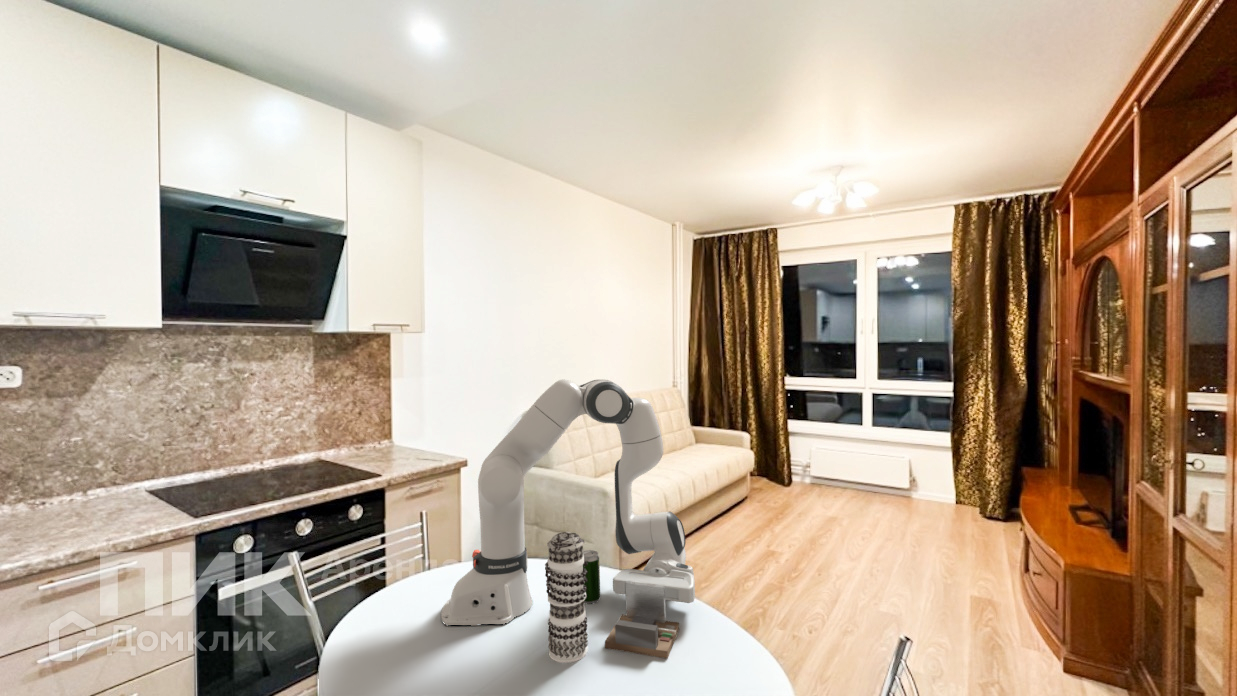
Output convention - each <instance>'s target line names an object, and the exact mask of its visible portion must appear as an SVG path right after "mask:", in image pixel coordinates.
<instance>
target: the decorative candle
mask: <svg viewBox="0 0 1237 696" xmlns="http://www.w3.org/2000/svg"><path fill="white" fill-rule="evenodd" d="M546 544H547V547H548V557H547V562H546V563H544V566H545V568H544V569H545V577H546V580H545V582H546V584H545V585H546V593H547V601H548V602H549V607H550V608H549V612H548V613H549V618H548V620H547V625H548V638H547V640H548V645H547V646H548V647H547V648H548V650H549V652H548V653H549V654H548V655H549V657H550V658H551V659H552V660H553V661H554V662H555V661H556V662H557V663H563V664H568V663H575V662H577V661H580V660H581V659H583V658H584V657H586V656H587V653H588V651H589V649H588V642H589V641H588V632H587V631H588V617H587V616H586V613H587V612H586V607H585V606H586V605H585V603H584V600H585V598H586V592H585V591H587V587H586V586H585V585H584V583H585V582H587V577H585V575H586V574H587V570H586V569H584V568H583V564H584V567H585V566H586V565H587V561H586V560H585V559H584V554H583V551H584V547H583V546H584V544H585V540H584V539H583V538H581V537H580V535H579V534H577V533H576V532H572V531H570V532H569V531H564V532H560V533H556V534H555V535H553V536H552V537H551V539H550V540H549V541H548V542H547V543H546ZM583 579H584V580H583Z"/></svg>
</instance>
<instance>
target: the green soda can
mask: <svg viewBox="0 0 1237 696" xmlns="http://www.w3.org/2000/svg"><path fill="white" fill-rule="evenodd" d="M583 554H584V559H585V560H586V561H587V565H586V566H585V567H584V564H583V568H584V569H586V570H587V574H586V575H585V577H587V582H585V583H584V585H585V586H586V587H587V591H585V592H586V598H585V600H584V603H587V604H586V605H592V604H591V603H594V604H596V603H598V602H599V601H600V599H601V576H600V575H601V574H600V573H601V572H600V555H599V552H598V551H596V550H593V549H589V550H588V549H587V550H583ZM583 580H584V579H583ZM597 601H598V602H597Z"/></svg>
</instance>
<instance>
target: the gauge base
mask: <svg viewBox="0 0 1237 696" xmlns="http://www.w3.org/2000/svg"><path fill="white" fill-rule="evenodd" d="M632 620H633V619H632V618H627V614H621V615H620V617H619V619H618V620H617V621H616V623H615V624H614V626H613V628H612V630H611V631H610V632H609V634H608V636H607V637H606V639H605V641H604V648H605V649H608V650H614V651H619V652H620V651H621V652H626V653H631V654H638V655H643V656H651V657H656V658H661V659H666V660H667V659H669V656H670V653H671V651H672V649H673V646H674V643H675V640H676V639H677V637H678V634H679V632H680V631H679V630H680V622H678V621H671V620H666V621H665V623H660V622H656V625H649V624H642V623H635V622H631V621H632ZM658 628H664V629H671V630H676V634H669V633H663V632H658Z"/></svg>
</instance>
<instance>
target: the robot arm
mask: <svg viewBox="0 0 1237 696" xmlns="http://www.w3.org/2000/svg"><path fill="white" fill-rule="evenodd" d="M582 415H583V416H584V415H587V416H588V417H589V418H590V419H592V420H595V421H597V422H599V423H601V424H602V423H603V424H614V425H616V427H617V430H618V431H619V435H620V441H621V445H622V452H621V456H620V459H618V460H617V461H616V463H615V467H614V498H615V501H614V503H615V541H616V544H617V546H618V547H619V549H621V550H622V551H623V552H624V553H626V554H628V555H633V554H638V553H641V552H652V551H654V552H653V554H652V556H651V557H650V558H649V560H648V562H647V563H646V565H645V566H644V567H643V570H641V569H634V568H625V569H622V570H620V571H619V572H618V573H616V575H615V576H614V577H613V578H612V590H613V592H614V594H617V595H625V596H626V582H627V581H633V582H641V583H649V584H658V585H665V601H669V602H676V603H678V602H679V603H686V604H691V603H694V601H695V599H696V596H695V595H696V588H695V587H696V584H695V583H696V582H695V576H694V568H693V567H692V566H691V565H687V564H686V558H687V553H686V552H687V551H686V548H685V547H686V534H685V528H684V525H683V523H682V521H681V519H680V518H679V517H678V516H677V515H676V514H675V513H673V512H672V511H659V512H653V513H645V514H636V513H634V512H633V497H632V493H633V492H632V485H633V482H634V481H635V480H636V479H637V478H639V477H641V476H642V475H645V474H646V473H648V472H649V471H651V470H652V469H653V468H655V467H656V466H657V465H658V464H659V463H660V462H661V460H662V458H663V455H664V441H663V437H662V433H661V429H660V425H659V422H658V419H657V415H656V412H655V410H654V408H653V406H652V404H651V402H650V401H649V400H647V399H646V398H643V397H630V396H629V395H628V393H627V392H625V390H624V389H623V388H622V387H621V386H620V385H619V384H617V383H615V382H613V381H611V380H608V379H594V380H590V381H588V382H586V383H583V384H580V385H578V384H577V383H576V382H574V381H571V380H569V379H558V380H556V382H554V383H553V384H552V385H550V387H548V388H547V389H545V391H544V392H543V393H542V394H541V395H540V396H539V397H538V398H537V399H536V400H535V401H534V403H533V404H531V406H530V407H529V408H528V409H527V411H526V412H525V414H523V416H522V417H521V418H520V420H519V421H518V422H517V423H516V425H515V426H514V427H513V428H512V429H510V431H509V432H508V433H507V434H506V436H504V438H503V439H501V441H500V442H499V443H498V444H497V445H496V446H495V448H493V449H492V450H491V452H490V453H489V454H488V455H487V456H486V458H485V459H484V460H483V461H482V464H481V467H480V471H479V475H478V480H477V491H478V507H479V509H478V510H479V521H480V522H479V523H480V550H479V549H474V550H473V551H472V554H471V555H472V556H471V557H472V568H471V569H470V570H469V571H468V572H467V573H466V574H465V575H463V576H462V577H460V579H458V581H456V583H455V585H454V587H453V589H452V592H451V596H450V598H449V599H448V600H447V601H446V602H445V603H444V605H443V607H442V609H441V613H440V615H441V616H440V619H441V618H442V620H441V622H442V621H443V622H444V623H445V624H446V625H471V626H478V625H477V624H480V625H479V626H482V625H481V624H503V625H506V624H505V623H507V624H508V622H509V621H510V622H511V621H512V620H514V619H515V618H516V616H517V617H519V616H521V615H523V614H525V613H526V612H527V611H529V610H530V609H531V608H532V606H533V599H532V595H531V591H530V588H529V587H530V586H529V583H528V582H529V581H528V576H527V572H528V552H527V547H526V546H525V543H526V541H525V537H526V536H525V535H526V534H525V485H524V481H525V479H524V477H526V475H527V474H528V473H529V471H530V470H531V469H532V468H533V467H535V465H536V464H537V463H538V462H539V461H540V460H541V459H542V458H544V457H545V456H546V455H548V453H549V452H550V450H552V448H553V447H554V446H555V444H556V443H557V442H558V441H559V439H560V438H561V437H562V435H563V434H564V433H565V432H566V431H567V429H568V428H569V427H570V425H571V424H572V422H573V421H575V420H576V419H577V418H579V417H580V416H582ZM524 612H525V613H524ZM514 617H515V618H514ZM510 622H509V623H510Z"/></svg>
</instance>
